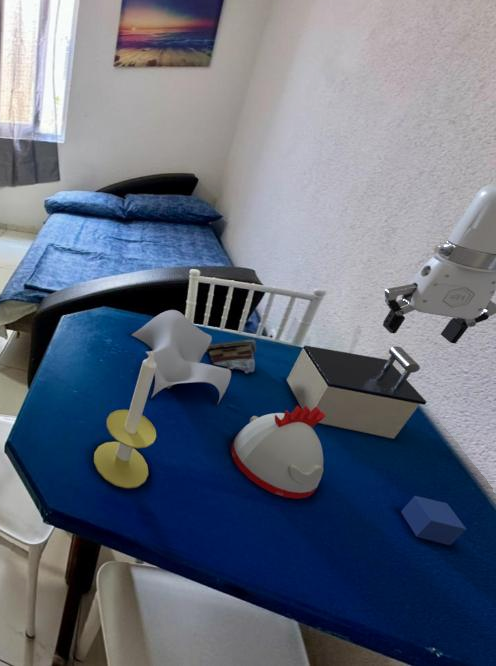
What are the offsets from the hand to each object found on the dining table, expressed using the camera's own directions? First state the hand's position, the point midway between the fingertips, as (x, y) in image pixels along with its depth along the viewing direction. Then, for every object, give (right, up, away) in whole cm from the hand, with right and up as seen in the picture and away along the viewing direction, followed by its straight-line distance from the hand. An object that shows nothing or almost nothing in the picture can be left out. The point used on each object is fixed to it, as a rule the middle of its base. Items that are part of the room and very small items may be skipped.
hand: (417, 334), depth 80 cm
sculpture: (-38, -11, +22) cm, 45 cm away
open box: (-6, -18, +12) cm, 22 cm away
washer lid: (-5, -9, +7) cm, 13 cm away
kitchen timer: (-31, -25, -2) cm, 40 cm away
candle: (-60, -24, -3) cm, 65 cm away
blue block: (-12, -31, -13) cm, 36 cm away
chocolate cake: (-23, -11, +24) cm, 35 cm away
